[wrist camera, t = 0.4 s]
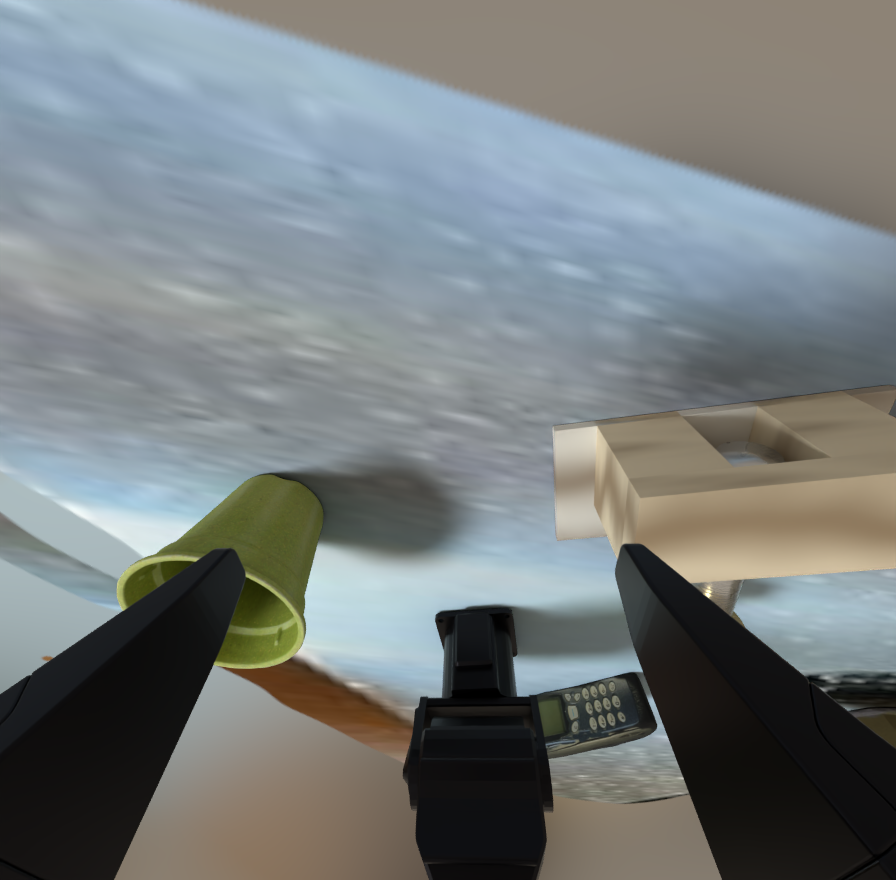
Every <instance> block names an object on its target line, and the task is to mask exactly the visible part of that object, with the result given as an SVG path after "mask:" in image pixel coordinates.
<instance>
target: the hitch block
mask: <svg viewBox="0 0 896 880" xmlns="http://www.w3.org/2000/svg"><path fill="white" fill-rule="evenodd" d="M895 400H896V387H894V386H891V385H885V386H876V387H868V388H860V389H852V390H844V391H835V392H827V393H819V394H811V395H803V396H795V397H786V398H778V399H770V400H762V401H754V402H745V403H737V404H729V405H721V406H713V407H704V408H696V409H688V410H680V411H672V412H664V413H655V414H647V415H639V416H631V417H623V418H614V419H606V420H598V421H590V422H582V423H574V424H565V425H557V426H553V457H554V493H555V529H556V538H557V541H560V540H571V539H583V538H594V537H605V536H607V537H608V539H609V541H610V544H611V546H612V548H613V551H614V553H615V555H616V558H617V560H618V555H619V551H620V548H621V546H622V545H623V544H625V543H640V544H642V545H644V546H646V547H647V548H648V549H649V550H650V551H652V552H653V553H654V554H655V555H657V556H658V557H659V558H660V559H662V560H663V561H664V562H665V563H666V564H668V565H669V566H670V567H671V568H673V569H674V570H675V571H676V572H677V573H679V574H680V575H681V576H682V577H684V578H685V579H686V580H687V581H688V582H690V583H700V582H714V581H728V580H742V579H755V578H769V577H783V576H796V575H810V574H824V573H838V572H851V571H865V570H879V569H893V568H896V418H895V417H893V416H891V415H889V412H890V410H891V408H892V406H893V404H894V402H895ZM732 441H746V442H753V443H758V444H762V445H765V446H767V447H770V448H772V449H774V450H776V451H777V452H779V453H780V454H781V455H782V456H783V458H784V460H785V462H783V463H773V464H764V465H754V466H745V467H735V468H734V467H733V466H732V465H731V464H730V463H729V462H728V461H727V460H726V459H725V458H724V457H723V456H722V455H721V454H720V453H719V452H718V451H717V450H716V448H717V447H718V446H719V445H721V444H723V443H727V442H732Z"/></svg>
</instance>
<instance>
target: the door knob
mask: <svg viewBox="0 0 896 880" xmlns="http://www.w3.org/2000/svg"><path fill="white" fill-rule="evenodd" d="M716 450H717V451H718V452H719V453H720V454H721V455H722V456H723V457H724V458H725V459H726V460H727V461H728V462H729V463H730V464H731V465H732V466H733V467H734V468H735V467H745V466H754V465H764V464H773V463H783V462H785V460H784V458H783V456H782V455H781V454H780V453H779V452H777V451H776V450H774V449H772V448H770V447H767V446H765V445H762V444H758V443H753V442H746V441H732V442H727V443H723V444H721V445H719V446H718V447H717V448H716ZM743 582H744V579H742V580H728V581H714V582H700V583H691V584H692V585H693V586H695V587H696V588H697V589H698V590H700V591H701V592H702V593H703V594H704V595H706V596H707V597H708V598H709V599H711V600H712V601H713V602H714V603H715V604H717V605H718V606H719V607H720V608H722V609H723V610H724V611H725V612H727V613H728V614H729V615H730V616H731V617H733V618H734V619H735V620H736V621H738V622H739V623H740V624H741V625H742V626H744V624H743V623H742V621H741V620H740V618H739V617H738V616H737V615H736V613H735V612H734V608H735V605H736V602H737V599H738V596H739V593H740V590H741V588H742V585H743ZM744 627H745V626H744Z"/></svg>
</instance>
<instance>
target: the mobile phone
mask: <svg viewBox="0 0 896 880" xmlns="http://www.w3.org/2000/svg"><path fill="white" fill-rule="evenodd" d="M537 700H538V705H539V711H540V716H541V722H542V727H543V732H544V738H545V743H546V749H547V755H548V759H551V758H557V757H564V756H568V755H573V754H577V753H582V752H586V751H591V750H596V749H600V748H606V747H612V746H616V745H619V744H622V743H626V742H630V741H634V740H638V739H641V738H644V737H646V736H648V735H650V734H652V733H653V732H654V731H655V730H656V728H657V723H656V720H655V717H654V715H653V712H652V710H651V707H650V704H649V702H648V699H647V697H646V694H645V692H644V689H643V687H642V684H641V682H640V679H639V677H638V676H637V675H636V674H635V673H627V674H622V675H618V676H614V677H610V678H606V679H602V680H598V681H595V682H591V683H587V684H583V685H579V686H574V687H570V688H565V689H560V690H555V691H550V692H545V693H542V694H539V695H537Z"/></svg>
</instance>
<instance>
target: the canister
mask: <svg viewBox="0 0 896 880" xmlns="http://www.w3.org/2000/svg"><path fill="white" fill-rule="evenodd" d="M849 712H850V713H851V714H852V715H854V716H855V717H856V718H857V719H859V720H860V721H861V722H862V723H864V724H865V725H866V726H867V727H869V728H870V729H871V730H873V731H874V732H875V733H876V734H878V735H879V736H880V737H882V738H883V739H884V740H886V741H887V742H888V743H890V744H891V745H892V746H894V747H895V748H896V708H867V709H861V710H855V711H849Z"/></svg>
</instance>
